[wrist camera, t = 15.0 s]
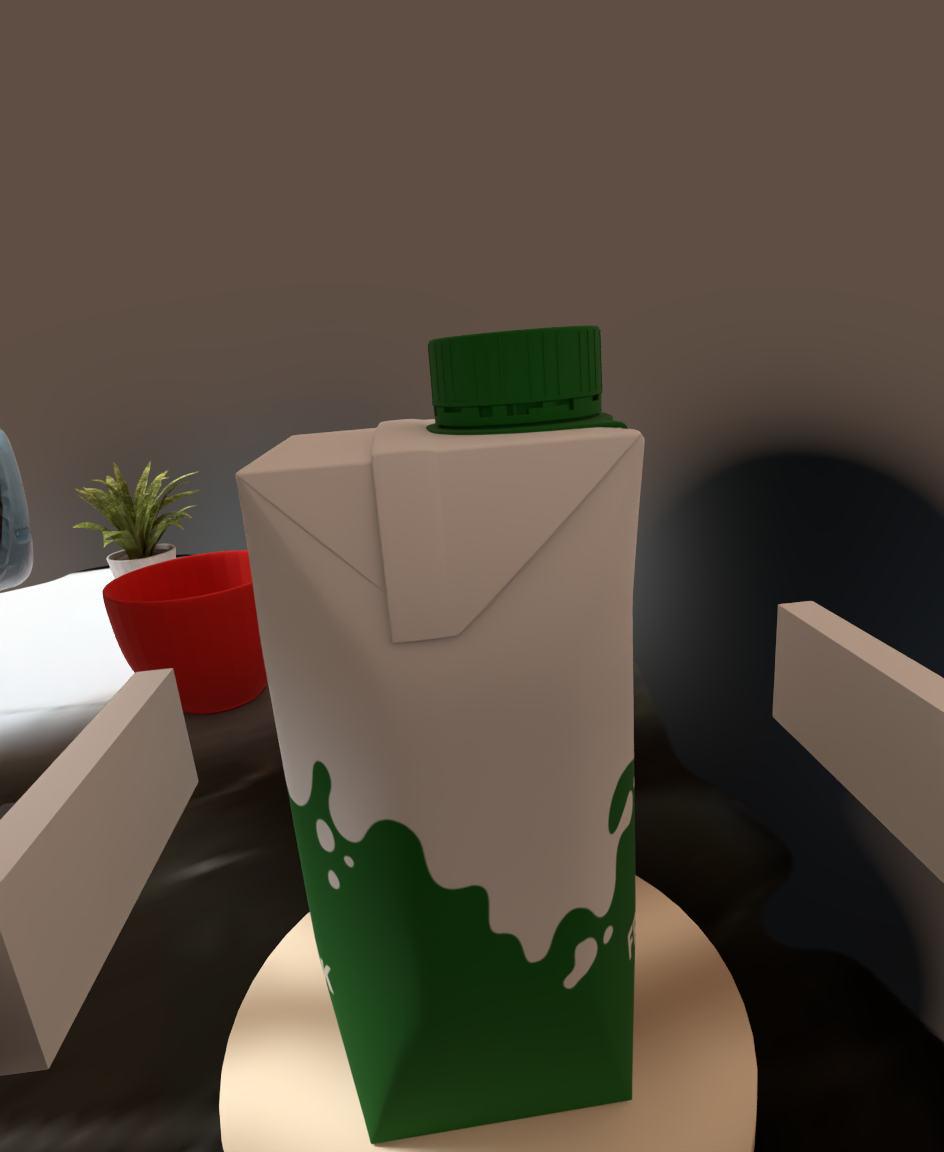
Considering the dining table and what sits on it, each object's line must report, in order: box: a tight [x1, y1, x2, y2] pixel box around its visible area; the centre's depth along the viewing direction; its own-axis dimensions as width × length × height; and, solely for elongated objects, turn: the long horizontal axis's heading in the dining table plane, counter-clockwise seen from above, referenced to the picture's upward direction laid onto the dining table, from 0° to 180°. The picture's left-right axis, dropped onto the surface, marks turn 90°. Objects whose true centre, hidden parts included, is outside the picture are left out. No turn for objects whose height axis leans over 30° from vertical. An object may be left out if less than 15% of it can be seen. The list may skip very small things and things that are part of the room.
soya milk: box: [236, 326, 645, 1144], centre depth 19 cm, size 9×9×20 cm
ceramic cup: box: [103, 551, 268, 714], centre depth 55 cm, size 13×17×10 cm
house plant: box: [73, 462, 198, 579], centre depth 76 cm, size 14×14×16 cm
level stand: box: [219, 875, 757, 1152], centre depth 23 cm, size 16×16×4 cm
